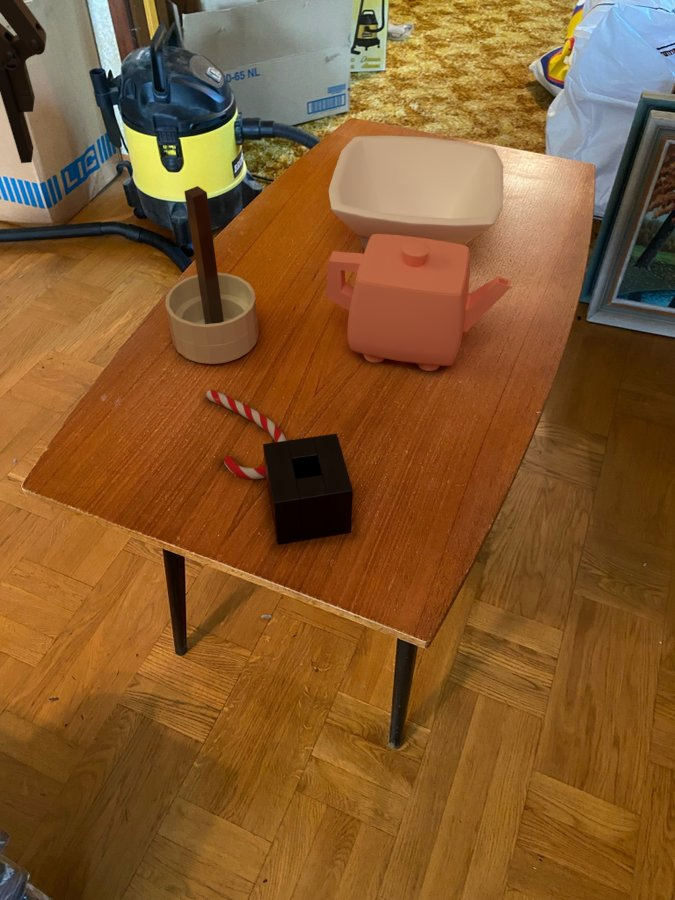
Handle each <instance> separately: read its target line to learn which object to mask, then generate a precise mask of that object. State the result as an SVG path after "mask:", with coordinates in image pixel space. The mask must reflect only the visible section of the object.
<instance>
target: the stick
mask: <svg viewBox="0 0 675 900" xmlns="http://www.w3.org/2000/svg"><path fill="white" fill-rule="evenodd" d="M184 199H185V205H186V212H187V218H188V224H189V229H190V230H189V231H190V237H191V242H192V249H193V255H194V256H193V257H194V262H195V268H196V269H195V270H196V275H198V282H199V288H200V294H201V301H202V307H203V314H204V320H205V324H214V323H221V322H224V319H223V311H222V303H221V296H220V288H219V281H218V273H219V272H218V267H217V259H216V252H215V244H214V235H213V230H212V229H213V228H212V221H211V213H210V206H209V198H208V192H207V191H206V190H204V189H203V188H201V187H200V186H198V185H196V186H193V187H191V188H189V189H187V190H184Z"/></svg>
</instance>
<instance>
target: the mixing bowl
mask: <svg viewBox="0 0 675 900" xmlns="http://www.w3.org/2000/svg"><path fill="white" fill-rule="evenodd" d="M217 273H218V281H219V288H220V296H221V303H222V311H223V319H224V322H221V323H214V324H205V320H204V314H203V307H202V301H201V294H200V288H199V282H198V275H197V274H195V275H190V276H188V277H186V278H184V279H182V280H180V281H178V282H177V283H176V284H174V286H172V287H171V288H170V289H169V291H168V292H167V295H166V296H165V301H164V302H165V310H166V316H167V321H168V325H169V331H170V336H171V339H172V344H173V346H174V348H175V350H176V351H177V353H178V354H180V355H181V356H182V357H184V358H185V359H186V360H190V361H192V362H196V363H199V364H208V365H216V364H225V363H228V362H232V361H234V360H237V359H240V358H241V357H243V356H245V355H246V354H248V353H249V352H250V351H251V350H252V349H253V348H254V347H255V346H256V345H257V342H258V339H259V336H260V332H259V321H258V320H259V319H258V310H257V299H256V292H255V289H254V288H253V287H252V285H251V283H250V282H249V281H246V280H245V279H244V278H242V277H240V276H237V275H233V274H231V273H226V272H217Z"/></svg>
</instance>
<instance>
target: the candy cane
mask: <svg viewBox="0 0 675 900" xmlns="http://www.w3.org/2000/svg"><path fill="white" fill-rule="evenodd" d="M205 398H206V399H207V400H209V401H210V402H212V403H215V404H217V405H220V406H221V407H224V408H226V409H229V410H230V411H232V412H234V413H235V414H238V415H240V416H242V417H244V418H245V419H247V420H249V421H250V422H252V423H254V424H256V425H257V426H258V427H260V428H261V429H262V430H264V432H266V433H267V434H268V435H270V437H271V438H272V439H273V440H274V442H281V441H287V438H286V436H285V435H284V433H283V431H282V430H281V429H280V428H279V427H278V426H277V425H276V423H274V422H273V421H272V420H271V419H270V418H268V417H267V416H265V415H263V414H262V413H261V412H259V411H257V410H256V409H254V408H252V407H250V406H248V405H246V404H244V403H242V402H241V401H239V400H236V399H235V398H232V397H230V396H228V395H226V394H223V393H220V392H219V391H216V390H213V389H208V390H207V391H206V393H205ZM223 463H224V466H225V468H227V470H228V471H229V472H230V473H231V474H232V475H234V476H236V477H239V478H240V479H241V478H242V479H245V480H246V479H247V480H260V479H261V480H262V479H266V471H265V464H264V465H261V466H259V467H245V466H241V465H240V464H239V463H237V462H236V460H235V459H234V457H233V456H231V455H227V456H225V457H224V459H223Z"/></svg>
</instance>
